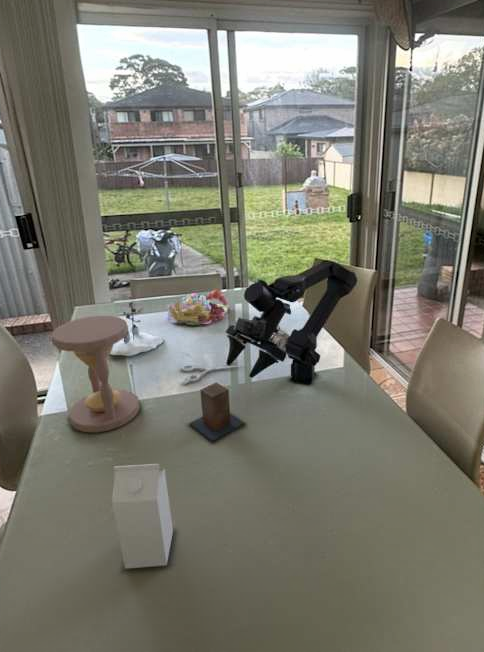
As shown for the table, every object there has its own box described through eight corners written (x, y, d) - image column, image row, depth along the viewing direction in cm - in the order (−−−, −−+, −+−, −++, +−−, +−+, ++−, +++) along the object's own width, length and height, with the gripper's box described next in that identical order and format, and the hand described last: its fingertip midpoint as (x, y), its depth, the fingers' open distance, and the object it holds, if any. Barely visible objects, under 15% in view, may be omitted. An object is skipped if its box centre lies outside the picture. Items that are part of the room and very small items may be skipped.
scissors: (177, 367, 141) (236, 354, 148) (177, 369, 141) (237, 356, 148) (183, 382, 132) (246, 369, 139) (183, 385, 132) (247, 371, 139)
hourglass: (71, 403, 123) (53, 321, 114) (136, 390, 129) (124, 311, 120) (69, 440, 108) (48, 348, 99) (143, 423, 114) (130, 335, 105)
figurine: (138, 361, 144) (134, 313, 139) (93, 354, 149) (88, 307, 145) (172, 341, 162) (170, 299, 158) (131, 336, 168) (127, 294, 163)
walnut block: (218, 415, 117) (216, 382, 113) (230, 422, 113) (228, 389, 110) (203, 423, 113) (200, 389, 110) (215, 431, 110) (212, 397, 106)
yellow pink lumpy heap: (221, 327, 172) (220, 305, 169) (162, 327, 172) (159, 305, 169) (230, 304, 195) (229, 284, 192) (177, 304, 196) (175, 285, 192)
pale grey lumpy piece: (298, 344, 151) (290, 333, 149) (274, 363, 150) (265, 352, 148) (277, 323, 174) (270, 314, 172) (256, 339, 173) (249, 330, 171)
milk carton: (134, 534, 82) (119, 452, 75) (173, 532, 83) (162, 449, 76) (124, 569, 76) (107, 482, 69) (166, 566, 76) (154, 479, 69)
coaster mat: (220, 409, 120) (220, 407, 120) (244, 424, 113) (244, 422, 113) (189, 425, 113) (189, 423, 113) (213, 442, 107) (212, 440, 107)
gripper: (229, 296, 118) (197, 347, 114) (277, 315, 106) (244, 371, 102) (252, 316, 126) (223, 363, 123) (299, 335, 114) (269, 388, 110)
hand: (238, 370), depth 114 cm, fingers open, 9 cm apart
